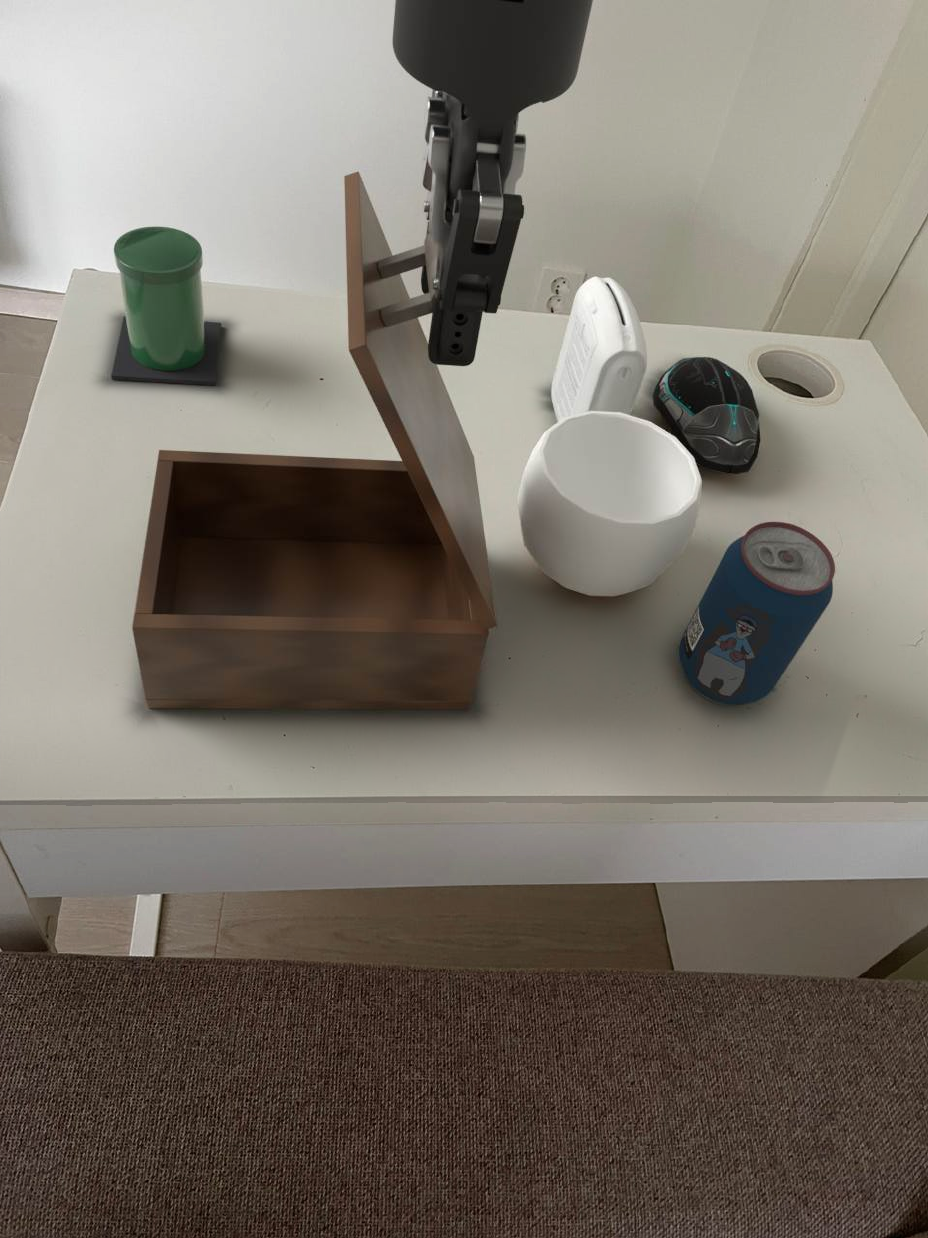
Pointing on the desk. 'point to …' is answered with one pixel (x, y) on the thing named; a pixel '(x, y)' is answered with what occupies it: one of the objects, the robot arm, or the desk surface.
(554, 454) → the cup
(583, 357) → the photo printer
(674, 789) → the desk surface
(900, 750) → the desk surface
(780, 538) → the soda can
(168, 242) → the green pot
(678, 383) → the computer mouse
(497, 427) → the desk surface
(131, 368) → the mat
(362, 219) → the lid
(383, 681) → the wooden box
